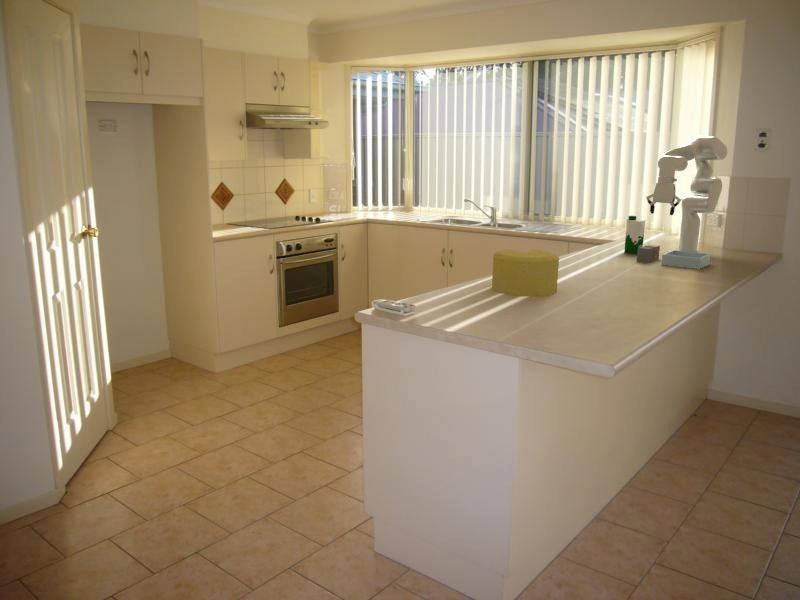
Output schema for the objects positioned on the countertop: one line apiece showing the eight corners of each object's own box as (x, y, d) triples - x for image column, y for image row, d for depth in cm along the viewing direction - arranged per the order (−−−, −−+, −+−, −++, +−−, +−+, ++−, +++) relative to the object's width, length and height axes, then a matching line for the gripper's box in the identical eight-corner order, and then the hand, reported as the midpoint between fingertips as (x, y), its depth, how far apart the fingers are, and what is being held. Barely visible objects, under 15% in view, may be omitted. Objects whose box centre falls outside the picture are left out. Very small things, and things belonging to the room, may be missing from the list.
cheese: (512, 280, 297) (514, 246, 293) (568, 289, 281) (570, 253, 277) (479, 289, 277) (481, 253, 274) (537, 299, 261) (539, 261, 258)
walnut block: (647, 257, 362) (648, 244, 360) (658, 258, 358) (660, 245, 357) (643, 259, 357) (644, 245, 356) (654, 260, 354) (656, 246, 352)
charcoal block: (640, 260, 354) (641, 246, 352) (652, 261, 351) (653, 247, 349) (636, 261, 349) (637, 247, 348) (648, 262, 346) (649, 249, 344)
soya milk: (627, 251, 382) (631, 215, 378) (644, 252, 377) (647, 216, 372) (622, 253, 375) (625, 216, 371) (638, 254, 370) (642, 217, 365)
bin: (672, 260, 354) (673, 250, 353) (709, 264, 343) (710, 254, 342) (661, 264, 340) (662, 254, 339) (699, 269, 329) (700, 258, 328)
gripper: (685, 181, 348) (681, 215, 351) (651, 179, 358) (647, 212, 361) (681, 181, 342) (676, 215, 345) (646, 179, 352) (642, 213, 355)
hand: (661, 214), depth 353 cm, fingers open, 9 cm apart
